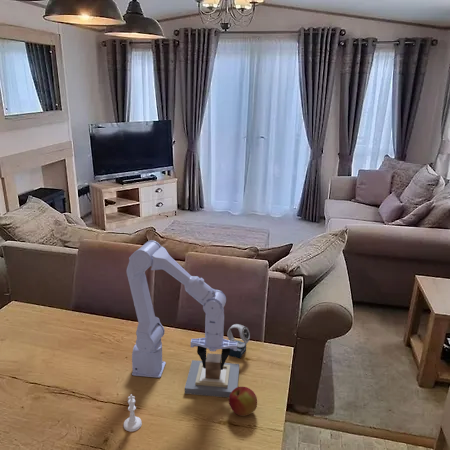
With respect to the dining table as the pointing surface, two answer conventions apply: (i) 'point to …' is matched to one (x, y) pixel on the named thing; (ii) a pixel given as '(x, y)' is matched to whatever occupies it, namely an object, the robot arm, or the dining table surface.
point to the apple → (243, 401)
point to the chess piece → (132, 416)
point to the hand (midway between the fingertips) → (213, 367)
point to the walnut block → (213, 366)
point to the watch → (240, 345)
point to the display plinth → (212, 380)
